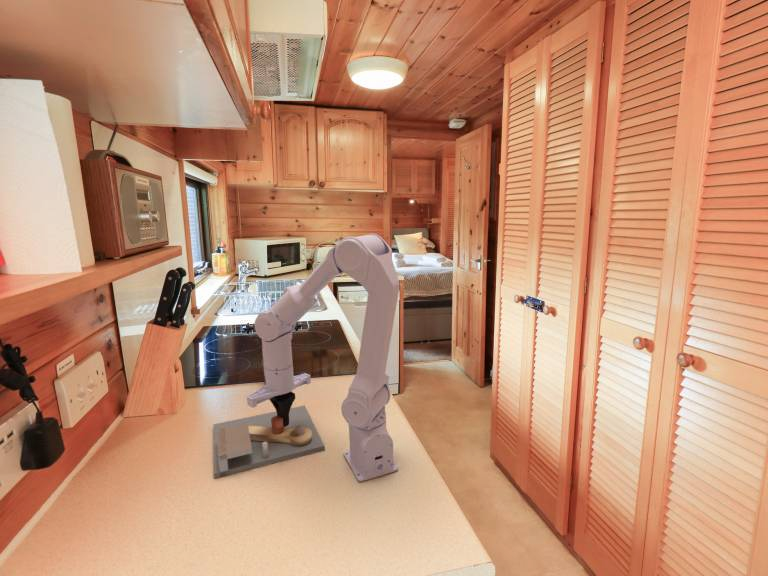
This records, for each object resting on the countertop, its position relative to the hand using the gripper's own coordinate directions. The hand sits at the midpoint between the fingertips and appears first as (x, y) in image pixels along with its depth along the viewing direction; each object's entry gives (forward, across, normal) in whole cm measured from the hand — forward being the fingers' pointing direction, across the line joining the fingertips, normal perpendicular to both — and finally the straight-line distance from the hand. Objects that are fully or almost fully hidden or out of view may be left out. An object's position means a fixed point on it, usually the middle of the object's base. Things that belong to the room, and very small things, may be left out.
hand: (283, 424), depth 85 cm
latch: (+2, +2, 0) cm, 3 cm away
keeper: (+3, +11, -1) cm, 11 cm away
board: (+3, +2, -3) cm, 5 cm away
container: (+4, -15, -26) cm, 31 cm away
